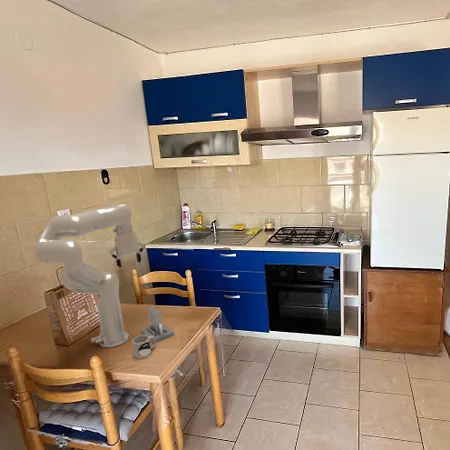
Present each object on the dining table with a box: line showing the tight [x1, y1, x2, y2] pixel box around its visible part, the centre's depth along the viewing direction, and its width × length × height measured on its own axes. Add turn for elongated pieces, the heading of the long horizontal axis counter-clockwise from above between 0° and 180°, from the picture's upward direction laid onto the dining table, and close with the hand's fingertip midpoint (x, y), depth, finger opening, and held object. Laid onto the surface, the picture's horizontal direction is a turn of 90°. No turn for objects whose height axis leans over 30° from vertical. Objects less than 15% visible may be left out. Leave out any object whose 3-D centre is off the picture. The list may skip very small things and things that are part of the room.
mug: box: [131, 334, 157, 359], centre depth 148 cm, size 10×7×7 cm
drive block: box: [146, 305, 163, 335], centre depth 163 cm, size 8×3×10 cm, turn 34°
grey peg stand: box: [140, 322, 175, 344], centre depth 163 cm, size 14×10×6 cm
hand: (129, 264), depth 176 cm, fingers open, 9 cm apart
